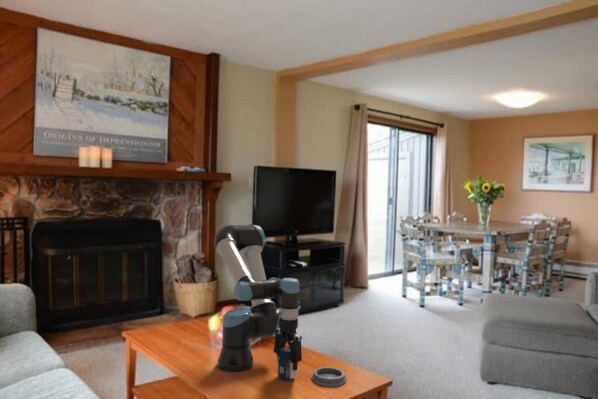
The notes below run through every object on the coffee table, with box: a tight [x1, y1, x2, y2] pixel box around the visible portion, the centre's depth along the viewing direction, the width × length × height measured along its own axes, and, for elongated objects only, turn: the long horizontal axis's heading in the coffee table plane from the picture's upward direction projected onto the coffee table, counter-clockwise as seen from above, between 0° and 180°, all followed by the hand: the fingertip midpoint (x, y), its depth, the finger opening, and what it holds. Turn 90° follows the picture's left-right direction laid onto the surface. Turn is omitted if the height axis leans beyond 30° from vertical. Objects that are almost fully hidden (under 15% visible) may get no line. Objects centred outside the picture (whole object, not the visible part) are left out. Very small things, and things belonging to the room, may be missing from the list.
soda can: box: [277, 345, 295, 382], centre depth 191 cm, size 7×7×12 cm
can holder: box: [311, 366, 348, 388], centre depth 192 cm, size 14×14×3 cm
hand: (286, 374), depth 191 cm, fingers closed on soda can, 7 cm apart
